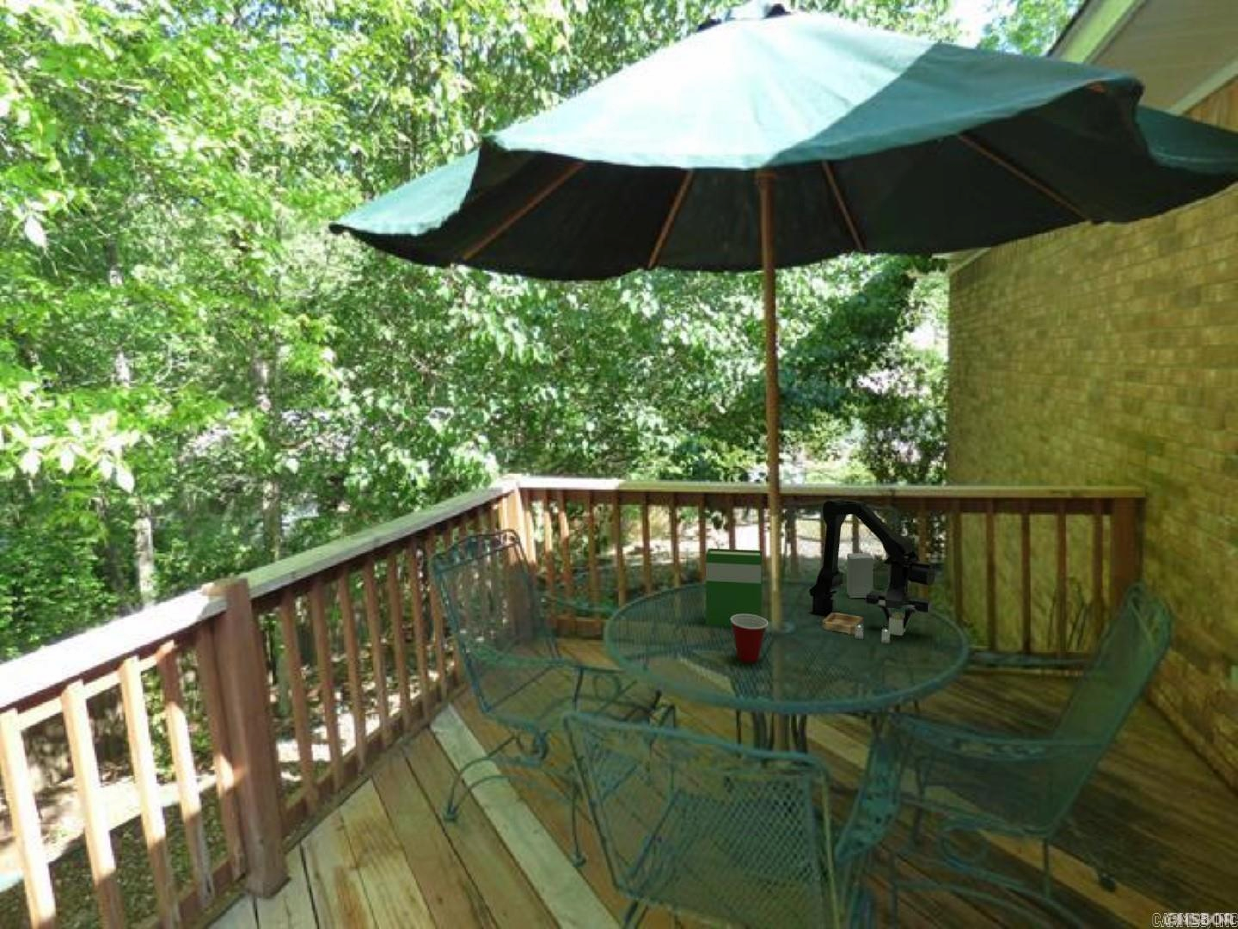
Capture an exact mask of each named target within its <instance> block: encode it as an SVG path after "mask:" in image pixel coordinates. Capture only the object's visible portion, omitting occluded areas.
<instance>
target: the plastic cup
mask: <svg viewBox="0 0 1238 929" xmlns="http://www.w3.org/2000/svg"><path fill="white" fill-rule="evenodd" d="M730 619H731V622H732V626H733V627H732V631H733V636H734V637H733V638H734V644H735V648H736V654H737V659H738V660H739V661H740V662H742V663H748V664H750V663H756V662H758V660H759V658H760V652H761V649H762V643H763V638H764V635H765V634H764V633H765V631H766V628H767V627H768V624H769V622H768V620H767V619H766V618H764V617H762V616H761V617H760V616H757V615H751V614H737V615H734V616H732V617H731V618H730Z"/></svg>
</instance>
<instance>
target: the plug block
mask: <svg viewBox="0 0 1238 929" xmlns="http://www.w3.org/2000/svg"><path fill="white" fill-rule="evenodd" d="M903 614H904V613H903V612H900V611H899V612H896V611H894V612H893V613H891V617H890V618H889V625H888V629H890V635H895V636H902V637H903V635H904V634H905V632H906V628H905V629H903V624H904V618H905V614H904V615H903Z"/></svg>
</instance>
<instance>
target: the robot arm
mask: <svg viewBox="0 0 1238 929" xmlns="http://www.w3.org/2000/svg"><path fill="white" fill-rule="evenodd" d="M867 505H868V504H866V502H865V501H862V500H860V501H855V500H844V499H843V498H834V499H831V500H827V501H826V502H824V503H823V505H822V518H823V521H824V522H825V526H826V527H825V536H824V537H825V539H824V549H823V561H822V567H821V568H820V571H819V572H818V574H817V578H816V582H815V584H814V585H813V586H812V587H811V588H809V590H808V591H809V595H810V597H812V609H811V610H810V614H814V615H820V616H825V617H828V616H829V615H830V614H831V613H835V611H836V610H835V607H836V606H835V605H836V600H835V599H834V595H835V594H837V591H838V590H839V589H840V588H841V586H842V585H843V584H844V582H843V578H844V572H840V570H839V568H838V564H839V555H840V543H841V535H842V534H841V533H842V525H843V524H844V522H845V520H846V518H847V515H855V517H856V518H857V519H858V520H859V521H861V523H862V524H864V526H865V527H866V528H867V529H868V530H870V532H872V534H873V535H874V536H875V537H876V538H877V539H878V540H879V541H880V543H881V545H882V547H883V550H884V551H885V552H886V554H887V555H888V557H887V559H885V560H884V561H883V564H884V565H889V578H888V579H889V582H888V588H887V591H886V594H885V595H884V594H883V592H882V591H875V590H873V591H871V592H869V593H868V594H867V596H866V599H865V603H866V604H870V605H876V604H878V605H877V607H878V608H880V609H881V610H882V611H883V613H884V615H885V619H886V621H887V624H888V626H889V618H890V617H891V615H892V609H896V610H901V609H902V608H903V607H904V606H906V608H905V610H904V616H905V618H904V624H903V629H905V630H906V628H907V625H908V622H909V620H910V618H911V616H912V614H914V613H916V612H922V613H929V611H930V610H931V608H932V601H931V599H930V598H923V597H917V598H916V600H915V599H911V597H910V594H909V585H910V584H909V583H910V582H911V583H913V584H918V585H921V586H922V585H923V586H928V587H932V585H933V584H934V583H935V579H936V573H935V572H936V571H935V569H934V567H933V564H932V563H929V562H922V561H921V560H920V558H919V557H918V555H917V553H916V552H915V550H914V545H913V543H912V542H911V541H910V540H909V539H907V538H906V537H905V536H903V535H901V534H900V533H897V532H894V531H893V530H892V529H891V528H890V527H889V526H888V525H887V524H886V523H885V522H884V521H883V520H882V519H880V517H879V516H878V515H877V514H876V513H875V512H874V511H872V509H871V508H870V507H869V506H867Z"/></svg>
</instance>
